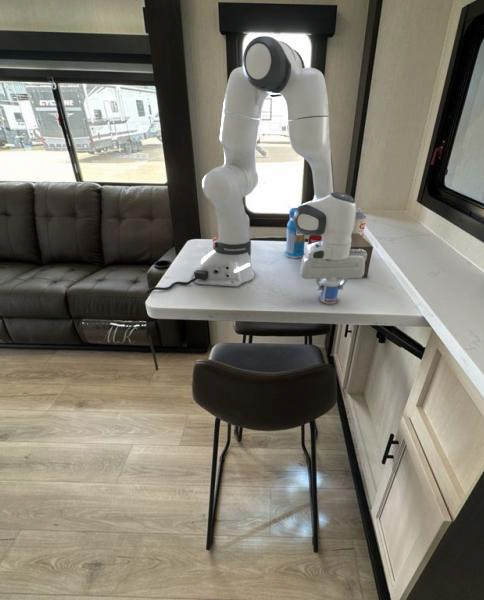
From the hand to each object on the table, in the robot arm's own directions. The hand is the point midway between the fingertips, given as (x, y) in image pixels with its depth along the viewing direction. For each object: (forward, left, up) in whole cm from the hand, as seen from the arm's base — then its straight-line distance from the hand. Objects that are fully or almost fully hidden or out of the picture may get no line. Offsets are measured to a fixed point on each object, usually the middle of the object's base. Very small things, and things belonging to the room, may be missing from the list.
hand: (329, 289), depth 100 cm
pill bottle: (0, 0, -4) cm, 4 cm away
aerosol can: (+22, +42, -4) cm, 48 cm away
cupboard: (+14, +24, -4) cm, 28 cm away
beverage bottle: (-5, +40, -4) cm, 41 cm away
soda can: (+3, +34, -4) cm, 35 cm away
